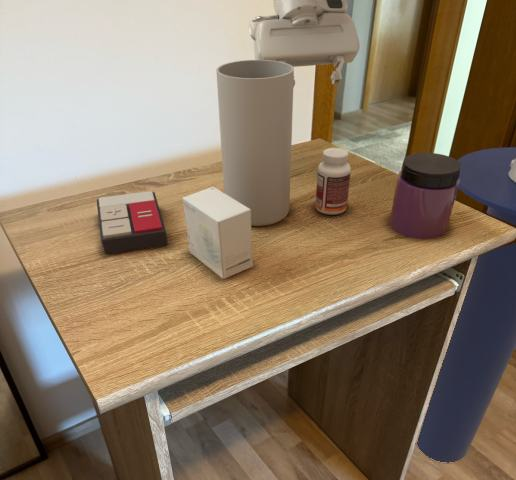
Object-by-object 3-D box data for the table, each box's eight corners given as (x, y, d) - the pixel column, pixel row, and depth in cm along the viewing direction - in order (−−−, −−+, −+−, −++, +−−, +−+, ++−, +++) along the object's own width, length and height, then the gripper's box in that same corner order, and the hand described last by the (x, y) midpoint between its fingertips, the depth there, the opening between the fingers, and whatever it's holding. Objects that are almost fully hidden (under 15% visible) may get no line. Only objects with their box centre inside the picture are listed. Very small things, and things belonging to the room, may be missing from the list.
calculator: (99, 236, 81) (95, 194, 91) (105, 258, 84) (100, 215, 94) (165, 226, 83) (153, 187, 94) (168, 248, 86) (157, 207, 97)
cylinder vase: (266, 193, 101) (266, 56, 85) (301, 216, 94) (309, 71, 77) (213, 208, 97) (202, 66, 80) (246, 234, 89) (241, 83, 72)
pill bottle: (351, 206, 97) (358, 150, 89) (338, 218, 93) (344, 161, 85) (323, 199, 99) (328, 143, 92) (309, 211, 95) (312, 154, 88)
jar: (424, 208, 96) (437, 151, 88) (458, 232, 88) (476, 173, 81) (378, 217, 93) (388, 160, 86) (410, 243, 86) (423, 183, 78)
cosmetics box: (187, 253, 84) (180, 196, 77) (218, 241, 87) (214, 185, 80) (221, 280, 78) (217, 220, 71) (254, 266, 80) (252, 207, 73)
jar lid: (435, 162, 89) (438, 149, 87) (469, 182, 82) (473, 169, 81) (390, 170, 87) (392, 157, 85) (421, 192, 80) (425, 177, 78)
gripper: (249, 4, 87) (265, 78, 87) (354, -1, 91) (369, 70, 91) (244, 29, 93) (258, 98, 93) (342, 23, 97) (356, 89, 97)
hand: (314, 84), depth 92 cm, fingers open, 8 cm apart
